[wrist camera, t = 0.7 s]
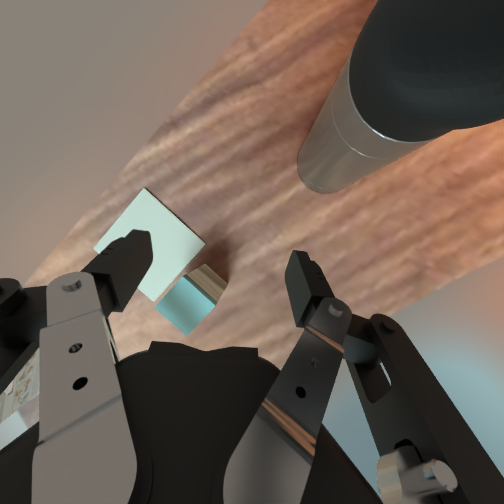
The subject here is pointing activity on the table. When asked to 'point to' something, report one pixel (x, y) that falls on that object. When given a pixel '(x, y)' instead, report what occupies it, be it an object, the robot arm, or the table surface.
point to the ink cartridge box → (21, 388)
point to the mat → (156, 241)
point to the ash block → (192, 298)
